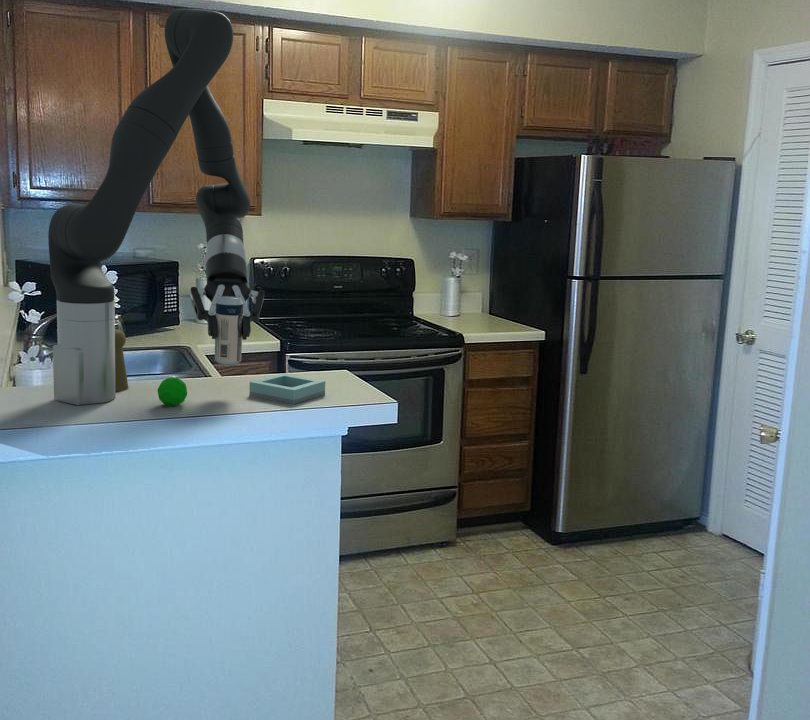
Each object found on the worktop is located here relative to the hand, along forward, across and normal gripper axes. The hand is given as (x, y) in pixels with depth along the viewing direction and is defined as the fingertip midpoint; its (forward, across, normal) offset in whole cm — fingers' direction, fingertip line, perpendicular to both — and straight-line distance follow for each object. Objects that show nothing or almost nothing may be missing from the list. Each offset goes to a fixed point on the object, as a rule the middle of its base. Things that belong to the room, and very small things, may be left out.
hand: (229, 336), depth 149 cm
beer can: (+2, 0, +5) cm, 6 cm away
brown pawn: (+2, -20, +14) cm, 25 cm away
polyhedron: (+12, -10, +5) cm, 16 cm away
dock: (+7, +11, +9) cm, 16 cm away
